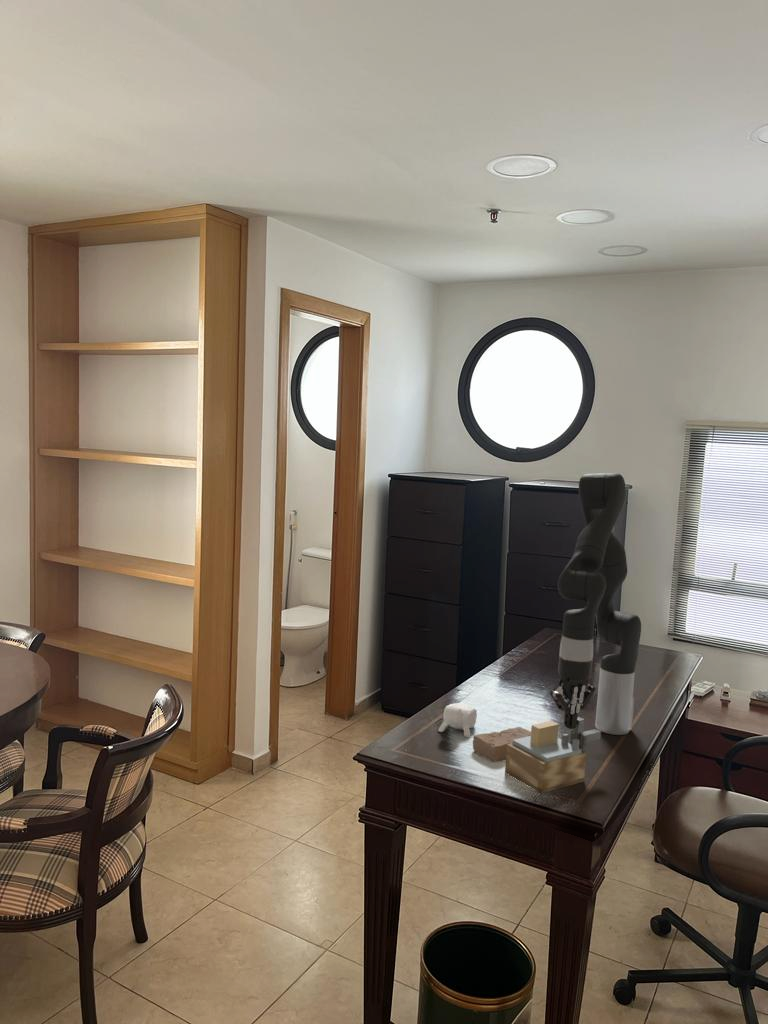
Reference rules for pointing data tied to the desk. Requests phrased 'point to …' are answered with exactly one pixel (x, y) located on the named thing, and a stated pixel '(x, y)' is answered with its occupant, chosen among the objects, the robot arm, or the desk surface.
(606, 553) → the robot arm
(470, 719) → the white animal figurine
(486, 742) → the brick
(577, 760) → the wooden box
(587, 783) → the desk surface
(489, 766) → the desk surface
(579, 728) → the grey angled block
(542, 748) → the lid
